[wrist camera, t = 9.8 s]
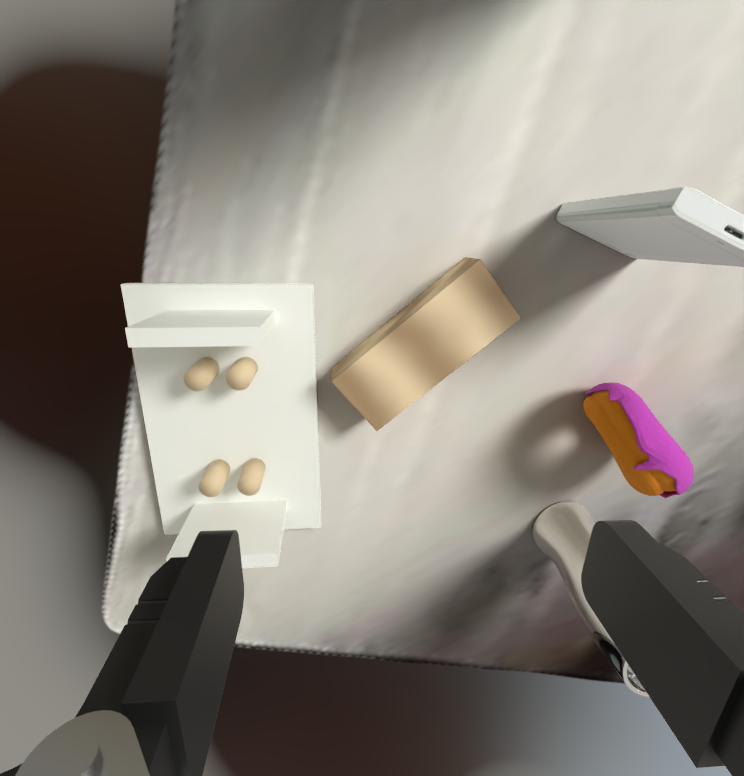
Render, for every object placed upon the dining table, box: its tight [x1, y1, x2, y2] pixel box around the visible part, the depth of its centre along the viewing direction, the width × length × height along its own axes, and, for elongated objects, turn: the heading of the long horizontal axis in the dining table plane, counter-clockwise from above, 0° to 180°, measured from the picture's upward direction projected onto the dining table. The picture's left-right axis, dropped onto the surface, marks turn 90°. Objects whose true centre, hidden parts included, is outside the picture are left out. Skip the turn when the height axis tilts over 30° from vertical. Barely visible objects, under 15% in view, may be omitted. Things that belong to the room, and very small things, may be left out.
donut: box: [583, 383, 694, 498], centre depth 35 cm, size 8×9×10 cm
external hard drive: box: [556, 187, 744, 267], centre depth 29 cm, size 2×8×12 cm, turn 68°
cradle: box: [121, 283, 321, 568], centre depth 33 cm, size 22×14×8 cm, turn 0°
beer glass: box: [532, 502, 649, 697], centre depth 37 cm, size 7×7×15 cm
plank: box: [331, 257, 521, 431], centre depth 35 cm, size 14×6×4 cm, turn 129°
